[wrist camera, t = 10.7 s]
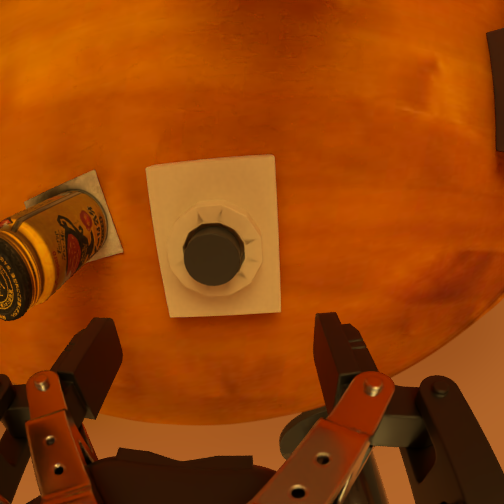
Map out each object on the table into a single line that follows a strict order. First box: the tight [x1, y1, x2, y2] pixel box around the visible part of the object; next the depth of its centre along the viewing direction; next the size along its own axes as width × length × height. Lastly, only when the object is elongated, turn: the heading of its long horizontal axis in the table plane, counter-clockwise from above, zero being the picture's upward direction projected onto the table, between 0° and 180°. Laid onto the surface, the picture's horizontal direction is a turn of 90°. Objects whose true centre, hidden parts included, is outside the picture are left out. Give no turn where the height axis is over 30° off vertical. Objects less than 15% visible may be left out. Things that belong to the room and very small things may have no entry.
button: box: [184, 226, 241, 286], centre depth 21 cm, size 4×4×2 cm
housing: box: [146, 154, 281, 317], centre depth 24 cm, size 12×9×4 cm
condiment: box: [0, 170, 123, 321], centre depth 19 cm, size 7×8×12 cm
